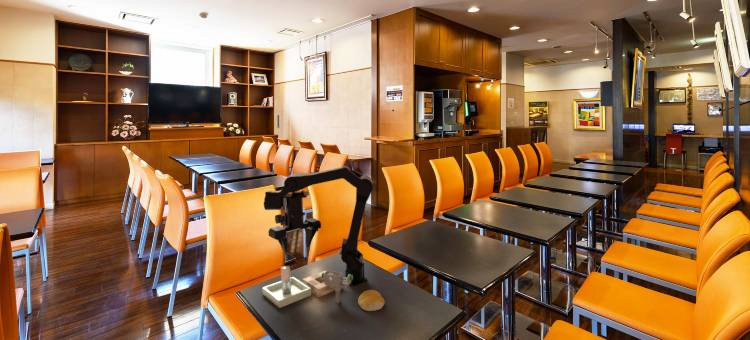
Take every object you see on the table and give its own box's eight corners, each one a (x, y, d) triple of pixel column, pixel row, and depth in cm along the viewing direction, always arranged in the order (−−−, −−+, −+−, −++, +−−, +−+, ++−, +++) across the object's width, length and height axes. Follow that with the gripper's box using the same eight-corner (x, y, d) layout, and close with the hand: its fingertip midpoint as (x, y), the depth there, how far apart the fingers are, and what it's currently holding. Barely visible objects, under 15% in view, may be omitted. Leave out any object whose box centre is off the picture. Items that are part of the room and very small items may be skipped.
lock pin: (288, 289, 125) (287, 265, 124) (292, 292, 123) (291, 267, 121) (280, 292, 123) (279, 267, 122) (285, 295, 121) (283, 270, 119)
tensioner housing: (326, 277, 135) (325, 270, 135) (342, 287, 128) (341, 279, 127) (303, 286, 129) (302, 279, 128) (318, 297, 121) (318, 289, 121)
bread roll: (378, 295, 122) (378, 284, 122) (387, 309, 114) (387, 297, 113) (355, 299, 120) (354, 288, 119) (362, 313, 112) (362, 302, 111)
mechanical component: (351, 305, 116) (351, 277, 114) (321, 302, 118) (320, 274, 116) (354, 301, 119) (353, 272, 117) (324, 298, 121) (323, 270, 119)
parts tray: (293, 282, 132) (293, 276, 131) (311, 295, 123) (311, 288, 122) (262, 294, 124) (262, 287, 123) (279, 308, 115) (278, 300, 114)
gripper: (305, 200, 140) (307, 238, 143) (260, 209, 128) (262, 251, 131) (321, 206, 132) (322, 246, 135) (274, 216, 120) (277, 260, 122)
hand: (296, 250), depth 131 cm, fingers open, 9 cm apart
